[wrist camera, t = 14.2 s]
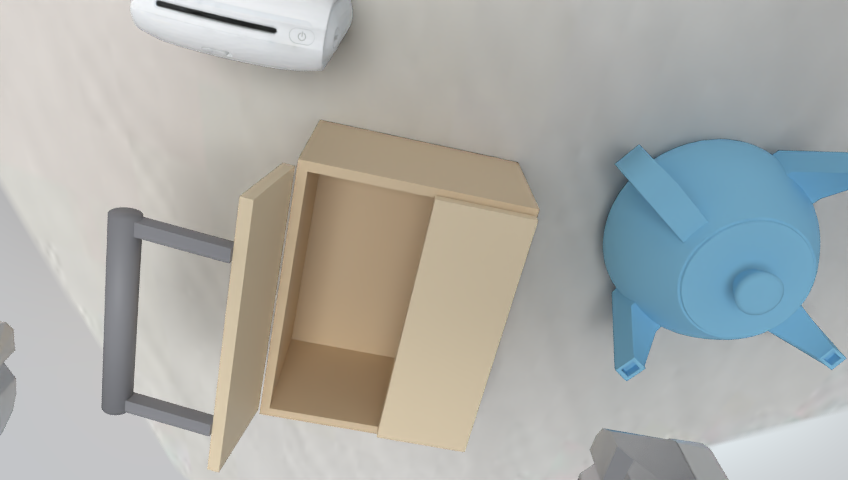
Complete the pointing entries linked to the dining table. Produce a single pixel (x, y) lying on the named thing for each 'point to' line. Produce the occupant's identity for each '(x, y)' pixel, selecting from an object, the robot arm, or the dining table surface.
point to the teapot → (718, 246)
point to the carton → (395, 285)
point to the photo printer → (250, 29)
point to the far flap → (243, 320)
